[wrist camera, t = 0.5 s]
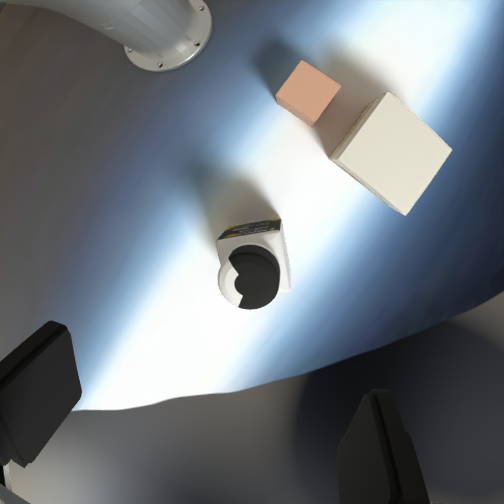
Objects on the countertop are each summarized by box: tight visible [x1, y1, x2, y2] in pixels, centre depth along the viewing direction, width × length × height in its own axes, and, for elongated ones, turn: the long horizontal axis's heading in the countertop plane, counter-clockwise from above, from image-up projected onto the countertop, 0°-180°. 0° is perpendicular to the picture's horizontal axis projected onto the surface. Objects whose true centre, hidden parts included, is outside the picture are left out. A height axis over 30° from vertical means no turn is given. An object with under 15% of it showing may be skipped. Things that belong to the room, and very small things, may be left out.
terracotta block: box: [276, 60, 341, 127], centre depth 33 cm, size 5×5×6 cm
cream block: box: [332, 91, 452, 216], centre depth 30 cm, size 9×9×4 cm
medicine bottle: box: [216, 218, 291, 310], centre depth 36 cm, size 7×7×12 cm
